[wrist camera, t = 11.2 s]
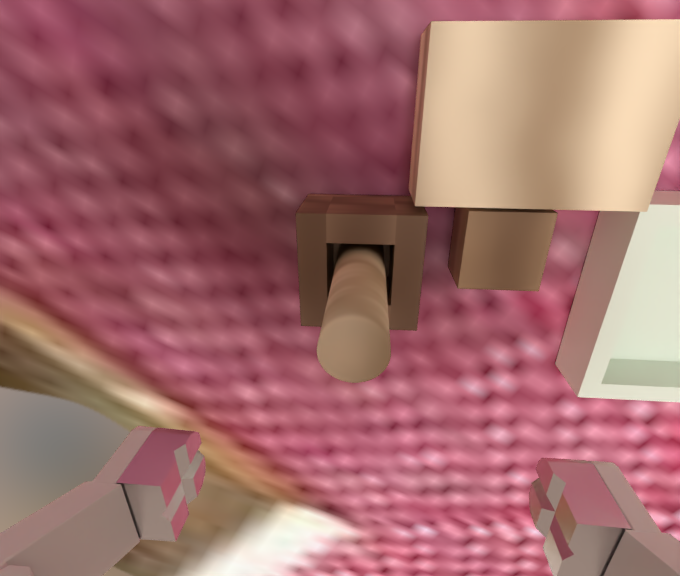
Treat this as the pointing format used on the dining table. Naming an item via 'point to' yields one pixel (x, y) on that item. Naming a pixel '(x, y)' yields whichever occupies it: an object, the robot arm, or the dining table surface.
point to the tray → (628, 307)
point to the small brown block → (500, 247)
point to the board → (544, 113)
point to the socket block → (361, 228)
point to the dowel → (356, 316)
